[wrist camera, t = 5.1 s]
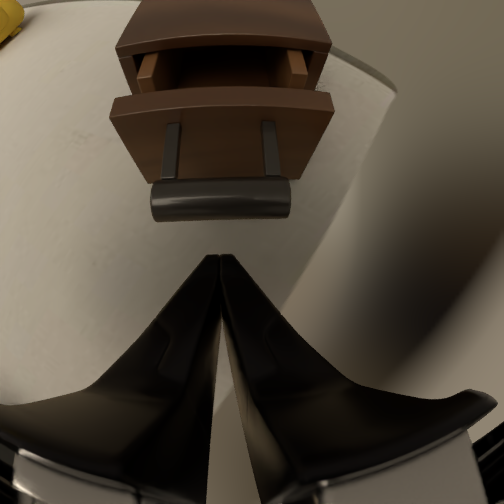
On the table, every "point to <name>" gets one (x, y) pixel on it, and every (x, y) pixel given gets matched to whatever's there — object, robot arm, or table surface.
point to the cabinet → (223, 30)
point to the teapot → (10, 18)
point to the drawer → (222, 130)
